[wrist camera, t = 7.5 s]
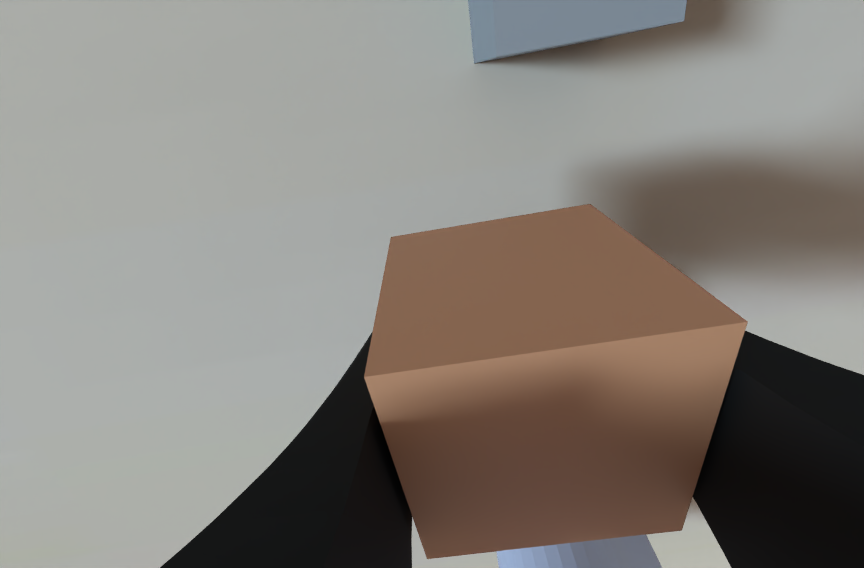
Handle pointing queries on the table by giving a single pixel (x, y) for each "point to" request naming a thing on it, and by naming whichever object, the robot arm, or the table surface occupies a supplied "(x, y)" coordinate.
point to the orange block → (545, 381)
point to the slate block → (560, 23)
